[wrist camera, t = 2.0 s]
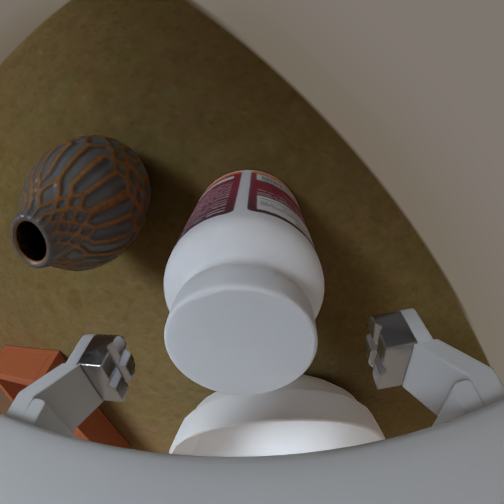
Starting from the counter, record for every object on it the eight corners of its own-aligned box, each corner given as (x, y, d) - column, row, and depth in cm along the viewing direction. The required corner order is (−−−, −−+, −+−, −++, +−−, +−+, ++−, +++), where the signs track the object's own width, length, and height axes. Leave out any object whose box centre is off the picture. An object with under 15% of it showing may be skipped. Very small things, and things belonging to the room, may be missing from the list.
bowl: (370, 427, 30) (382, 478, 23) (222, 452, 32) (218, 501, 26) (364, 315, 22) (392, 389, 15) (148, 360, 25) (124, 427, 18)
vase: (58, 152, 17) (-37, 193, 9) (144, 112, 16) (56, 127, 8) (92, 243, 20) (23, 319, 12) (179, 218, 19) (127, 302, 11)
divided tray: (76, 435, 34) (67, 458, 30) (5, 344, 26) (-14, 370, 22) (130, 445, 34) (123, 472, 30) (59, 350, 25) (40, 382, 21)
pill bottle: (204, 265, 20) (164, 405, 10) (191, 172, 17) (110, 265, 8) (300, 260, 20) (331, 402, 10) (298, 164, 17) (352, 252, 7)
